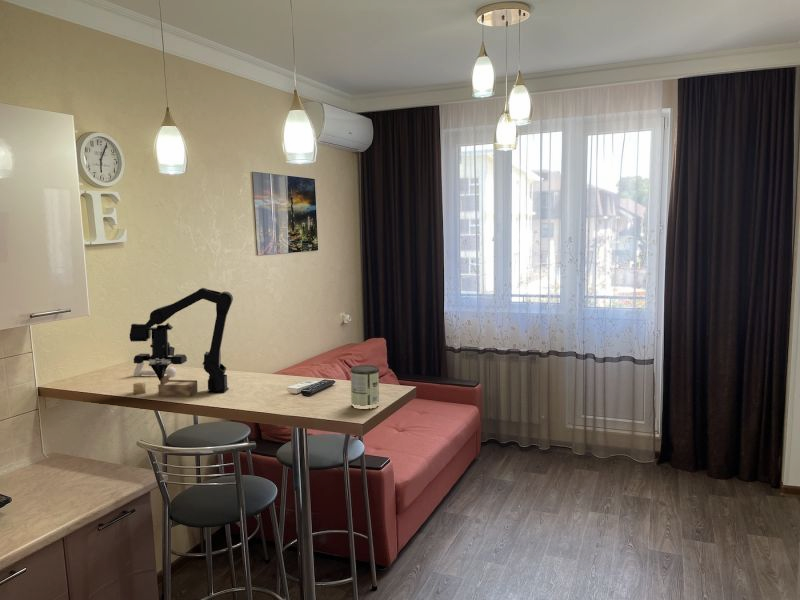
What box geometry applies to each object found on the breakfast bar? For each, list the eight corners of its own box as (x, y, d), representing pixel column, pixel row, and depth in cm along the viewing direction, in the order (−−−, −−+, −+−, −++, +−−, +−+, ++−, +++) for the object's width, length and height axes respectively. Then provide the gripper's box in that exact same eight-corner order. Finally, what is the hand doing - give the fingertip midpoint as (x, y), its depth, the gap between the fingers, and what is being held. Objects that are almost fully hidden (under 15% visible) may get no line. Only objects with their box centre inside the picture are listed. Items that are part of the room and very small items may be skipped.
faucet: (170, 388, 261) (177, 367, 260) (131, 374, 260) (138, 353, 259) (174, 385, 265) (180, 364, 264) (135, 372, 264) (142, 351, 263)
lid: (196, 383, 237) (195, 375, 236) (190, 387, 231) (189, 379, 230) (166, 382, 237) (166, 375, 237) (159, 386, 231) (159, 379, 231)
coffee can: (355, 401, 226) (355, 364, 224) (382, 403, 223) (382, 365, 222) (347, 408, 216) (346, 370, 214) (374, 411, 213) (374, 372, 212)
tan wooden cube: (148, 391, 237) (147, 383, 236) (141, 394, 232) (141, 386, 232) (138, 390, 238) (137, 382, 237) (130, 393, 233) (130, 384, 233)
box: (197, 391, 238) (197, 380, 237) (189, 396, 230) (189, 385, 229) (167, 390, 239) (167, 379, 238) (158, 396, 231) (158, 384, 230)
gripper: (191, 337, 240) (192, 376, 242) (145, 336, 241) (147, 375, 242) (180, 343, 229) (181, 383, 230) (132, 341, 230) (133, 382, 231)
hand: (161, 380), depth 234 cm, fingers closed
